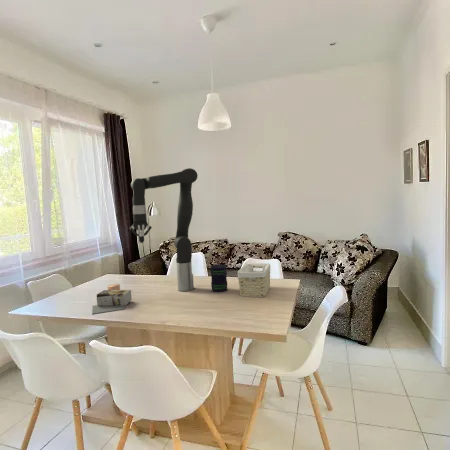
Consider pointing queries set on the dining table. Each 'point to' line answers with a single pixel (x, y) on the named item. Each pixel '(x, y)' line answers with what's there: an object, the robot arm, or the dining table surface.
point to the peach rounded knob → (114, 287)
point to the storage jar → (218, 278)
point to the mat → (106, 308)
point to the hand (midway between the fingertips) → (141, 242)
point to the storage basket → (254, 280)
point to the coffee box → (114, 297)
